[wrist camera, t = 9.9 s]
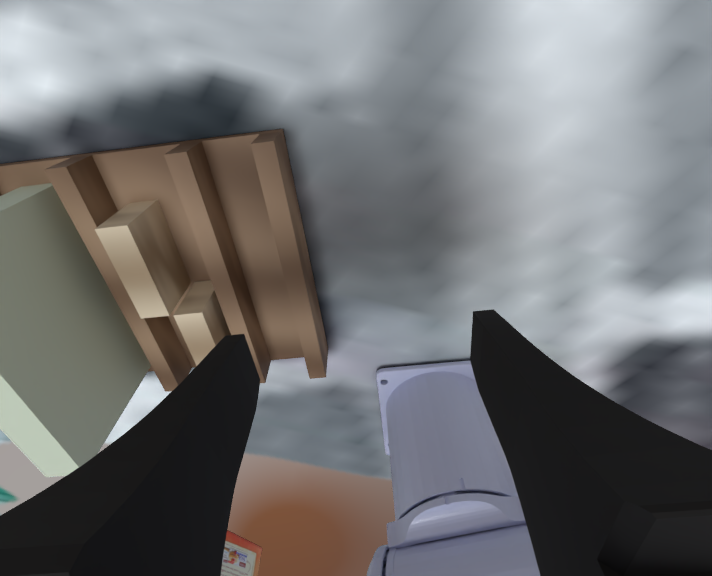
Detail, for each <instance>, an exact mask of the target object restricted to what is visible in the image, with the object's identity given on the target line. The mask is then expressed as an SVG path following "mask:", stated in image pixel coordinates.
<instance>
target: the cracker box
mask: <svg viewBox="0 0 712 576" xmlns="http://www.w3.org/2000/svg"><path fill="white" fill-rule="evenodd" d="M261 553H262V548H261V547H260V546H258V545H256V544H254V543H252V542H250V541H248V540H246V539H244V538H242V537H240V536H238V535H236V534H234V533H232V532H230V531H228V530H227V534H226V541H225V547H224V554H223V560H222V568H221V576H258V571H259V566H260V559H261Z"/></svg>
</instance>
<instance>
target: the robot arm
mask: <svg viewBox="0 0 712 576" xmlns="http://www.w3.org/2000/svg"><path fill="white" fill-rule="evenodd" d="M376 379H377V387H378V395H379V403H380V411H381V420H382V428H383V436H384V444H385V452H386V454H387V455H390V462H391V473H392V485H393V495H394V506H395V518H396V521H394V522H390V523H388V524H387V536H388V545H383V546H380V547H379V548H377V550H376V552H375V554H374V556H373V560H372V562H371V563H370V566H369V568H368V572H367V576H712V450H710V449H707V448H705V447H703V446H700V445H698V444H696V443H694V442H692V441H690V440H687V439H685V438H683V437H681V436H679V435H677V434H675V433H672V432H670V431H668V430H666V429H664V428H662V427H660V426H658V425H656V424H654V423H652V422H650V421H648V420H646V419H644V418H643V417H641V416H639V415H637V414H635V413H633V412H632V411H630V410H628V409H626V408H624V407H622V406H621V405H619V404H617V403H615V402H614V401H612V400H610V399H609V398H607V397H605V396H604V395H602V394H601V393H599V392H597V391H596V390H594V389H593V388H591V387H590V386H588V385H586V384H585V383H583V382H582V381H580V380H579V379H577V378H576V377H574V376H573V375H572V374H570V373H569V372H567V371H566V370H565V369H563V368H562V367H561V366H559V365H558V364H557V363H555V362H554V361H553V360H551V359H550V358H549V357H547V356H546V355H545V354H544V353H543V352H541V351H540V350H539V349H538V348H537V347H535V346H534V345H533V344H532V343H530V342H529V341H528V340H527V339H526V338H525V337H524V336H522V335H521V334H520V333H519V332H518V331H517V330H516V329H514V328H513V327H512V326H511V325H510V324H509V323H508V322H507V321H506V320H505V319H503V318H502V317H501V316H500V315H499V314H498V313H497V312H496V311H494V310H484V311H474V312H473V324H472V341H471V358H470V360H469V361H458V362H447V363H436V364H425V365H414V366H403V367H392V368H382V369H379V370H378V371H377V372H376ZM382 380H385V381H382ZM259 385H260V378H259V375H258V372H257V369H256V366H255V363H254V361H253V358H252V355H251V352H250V349H249V346H248V343H247V341H246V338H245V335H244V334H237V335H226V336H225V337H224V338H223V339H222V340H221V341H220V342H219V343H218V344H217V345H216V346H215V347H214V348H213V349H212V350H211V351H210V352H209V353H208V355H207V356H206V357H205V358H204V359H203V360H202V361H201V362H200V363H199V364H198V365H197V366H196V367H195V369H194V370H193V371H192V372H191V373H190V374H189V375H188V376H187V377H186V378H185V379H184V380H183V381H182V382H181V383H180V384H179V385H178V386H177V387H176V388H175V389H174V390H173V391H172V392H171V393H170V394H169V395H168V396H167V397H166V398H165V399H164V400H163V401H162V402H161V403H160V404H159V405H157V406H156V407H155V408H154V409H153V410H152V411H151V412H150V413H149V414H148V415H146V416H145V417H144V418H143V419H142V420H141V421H139V422H138V423H137V424H136V425H135V426H133V427H132V428H131V429H130V430H129V431H127V432H126V433H125V434H124V435H122V436H121V437H120V438H119V439H117V440H116V441H115V442H113V443H112V444H111V445H109V446H108V447H107V448H105V449H104V450H103V451H101V452H100V453H98V454H97V455H96V456H94V457H93V458H92V459H90V460H89V461H88V462H86V463H85V464H83V465H82V466H80V467H79V468H77V469H76V470H74V471H73V472H71V473H70V474H68V475H67V476H65V477H64V478H62V479H61V480H59V481H58V482H56V483H55V484H53V485H51V486H50V487H48V488H47V489H45V490H44V491H42V492H40V493H39V494H37V495H36V496H34V497H32V498H31V499H29V500H27V501H25V502H24V503H22V504H20V505H18V506H16V507H15V508H13V509H11V510H10V511H8V512H6V513H4V514H3V515H1V516H0V576H221V568H222V560H223V554H224V547H225V541H226V534H227V528H228V521H229V516H230V510H231V504H232V498H233V493H234V488H235V484H236V480H237V475H238V472H239V468H240V465H241V461H242V458H243V454H244V451H245V447H246V444H247V440H248V437H249V433H250V430H251V426H252V422H253V419H254V415H255V411H256V406H257V400H258V393H259Z"/></svg>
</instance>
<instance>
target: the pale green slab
mask: <svg viewBox="0 0 712 576" xmlns="http://www.w3.org/2000/svg"><path fill="white" fill-rule="evenodd" d="M150 367H151V364H150V362H149V360H148V359H147V357H146V355H145V353H144V351H143V349H142V348H141V346H140V344H139V342H138V340H137V338H136V337H135V335H134V333H133V331H132V329H131V328H130V326H129V324H128V322H127V320H126V318H125V317H124V315H123V313H122V311H121V309H120V307H119V306H118V304H117V302H116V300H115V298H114V296H113V295H112V293H111V291H110V289H109V287H108V285H107V284H106V282H105V280H104V278H103V276H102V275H101V273H100V271H99V269H98V267H97V265H96V264H95V262H94V260H93V258H92V256H91V254H90V253H89V251H88V249H87V247H86V245H85V243H84V242H83V240H82V238H81V236H80V234H79V233H78V231H77V229H76V227H75V225H74V223H73V222H72V220H71V218H70V216H69V214H68V212H67V211H66V209H65V207H64V205H63V203H62V201H61V200H60V198H59V196H58V194H57V192H56V190H55V189H54V187H53V185H52V183H47V184H39V185H31V186H22V187H19V188H17V189H15V190H13V191H10V192H8V193H6V194H4V195H2V196H0V429H1V430H2V431H3V432H4V433H5V434H6V436H7V437H8V438H9V439H10V440H11V441H12V442H13V443H14V444H15V445H16V446H17V447H18V448H19V449H20V450H21V451H22V452H23V453H24V454H25V456H26V457H27V458H28V459H29V460H30V461H31V462H32V463H33V464H34V465H35V466H36V467H37V468H38V469H39V470H40V471H41V472H42V473H43V474H44V476H45V477H55V476H67V475H68V474H70V473H71V472H73V471H74V470H76V469H77V468H79V467H80V466H82V465H83V464H85V463H86V462H88V461H89V460H90V459H92V458H93V457H94V456H96V455H97V454H98V452H99V450H100V448H101V447H102V445H103V444H104V442H105V440H106V439H107V437H108V435H109V434H110V432H111V431H112V429H113V427H114V426H115V424H116V422H117V421H118V419H119V417H120V416H121V414H122V413H123V411H124V409H125V408H126V406H127V404H128V403H129V401H130V399H131V398H132V396H133V394H134V393H135V391H136V390H137V388H138V386H139V385H140V383H141V381H142V380H143V378H144V376H145V375H146V373H147V372H148V370H149V368H150Z"/></svg>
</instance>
